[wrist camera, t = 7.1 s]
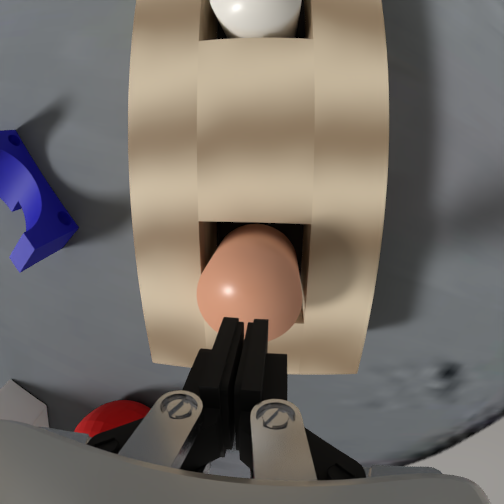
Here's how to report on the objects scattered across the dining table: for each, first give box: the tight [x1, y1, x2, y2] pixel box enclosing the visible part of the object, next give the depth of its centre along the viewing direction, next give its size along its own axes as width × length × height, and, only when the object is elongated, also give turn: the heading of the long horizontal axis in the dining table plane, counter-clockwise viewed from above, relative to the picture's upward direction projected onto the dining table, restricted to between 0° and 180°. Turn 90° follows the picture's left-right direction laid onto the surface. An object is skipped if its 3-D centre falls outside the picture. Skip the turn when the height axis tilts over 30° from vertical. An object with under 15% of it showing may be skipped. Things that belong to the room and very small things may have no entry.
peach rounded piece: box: [197, 224, 302, 341], centre depth 17 cm, size 5×5×5 cm
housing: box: [128, 0, 389, 374], centre depth 17 cm, size 30×14×5 cm, turn 0°
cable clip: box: [0, 130, 79, 273], centre depth 20 cm, size 12×4×6 cm, turn 38°
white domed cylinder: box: [210, 0, 302, 39], centre depth 15 cm, size 5×5×5 cm
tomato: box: [74, 400, 150, 437], centre depth 24 cm, size 10×11×11 cm
